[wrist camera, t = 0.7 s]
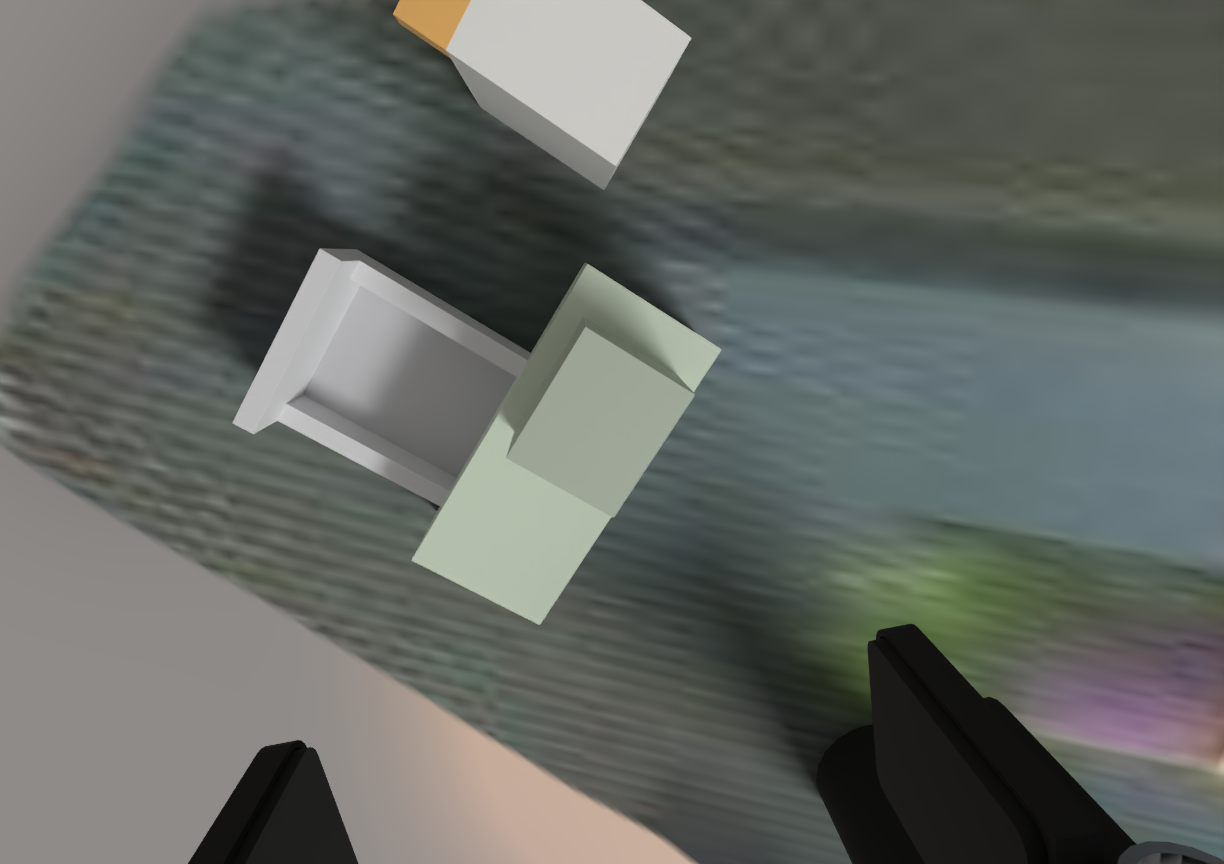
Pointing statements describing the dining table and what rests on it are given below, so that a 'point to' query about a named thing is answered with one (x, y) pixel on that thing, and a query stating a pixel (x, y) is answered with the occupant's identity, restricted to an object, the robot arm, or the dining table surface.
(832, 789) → the wine bottle
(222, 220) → the dining table surface
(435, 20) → the orange-topped white box
